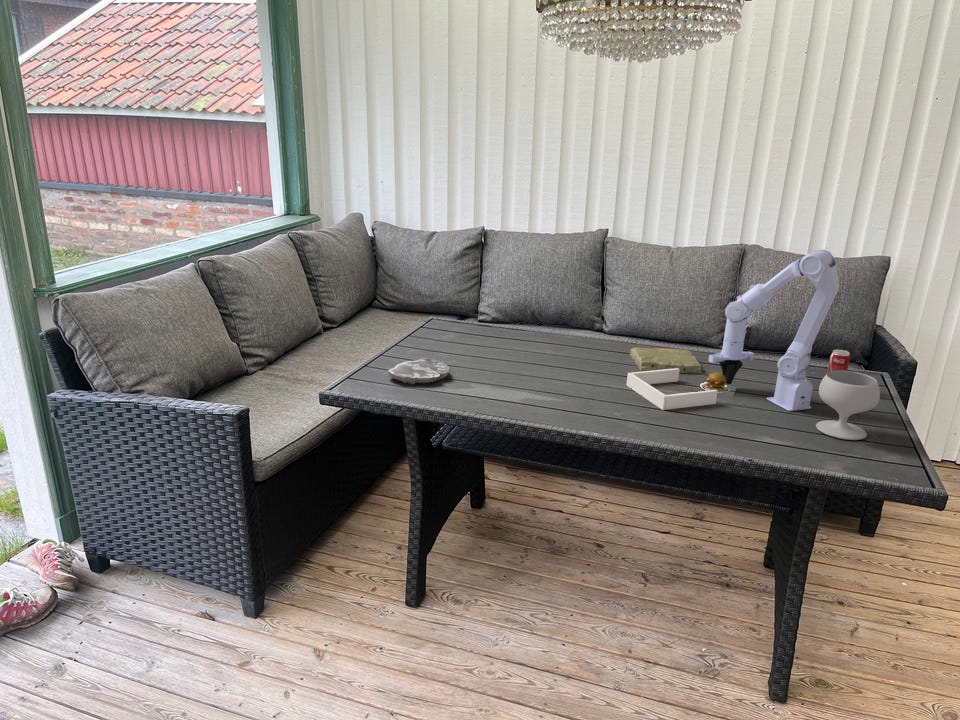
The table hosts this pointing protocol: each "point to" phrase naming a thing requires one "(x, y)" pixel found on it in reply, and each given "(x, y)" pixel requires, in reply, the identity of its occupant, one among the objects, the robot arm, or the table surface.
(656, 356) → the decorative tile
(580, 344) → the table surface
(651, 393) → the box
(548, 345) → the table surface
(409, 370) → the brain slice
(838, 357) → the soda can
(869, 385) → the chalice
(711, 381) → the hamburger
